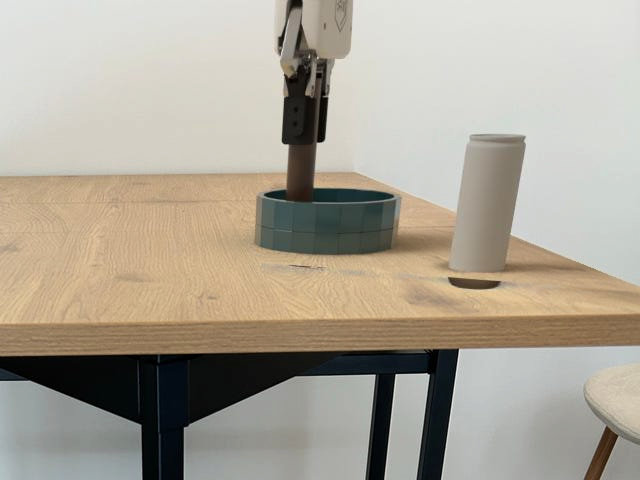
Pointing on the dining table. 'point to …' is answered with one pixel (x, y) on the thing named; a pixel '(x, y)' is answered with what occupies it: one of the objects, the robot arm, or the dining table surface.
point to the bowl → (328, 221)
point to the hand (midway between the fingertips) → (303, 141)
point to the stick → (303, 163)
